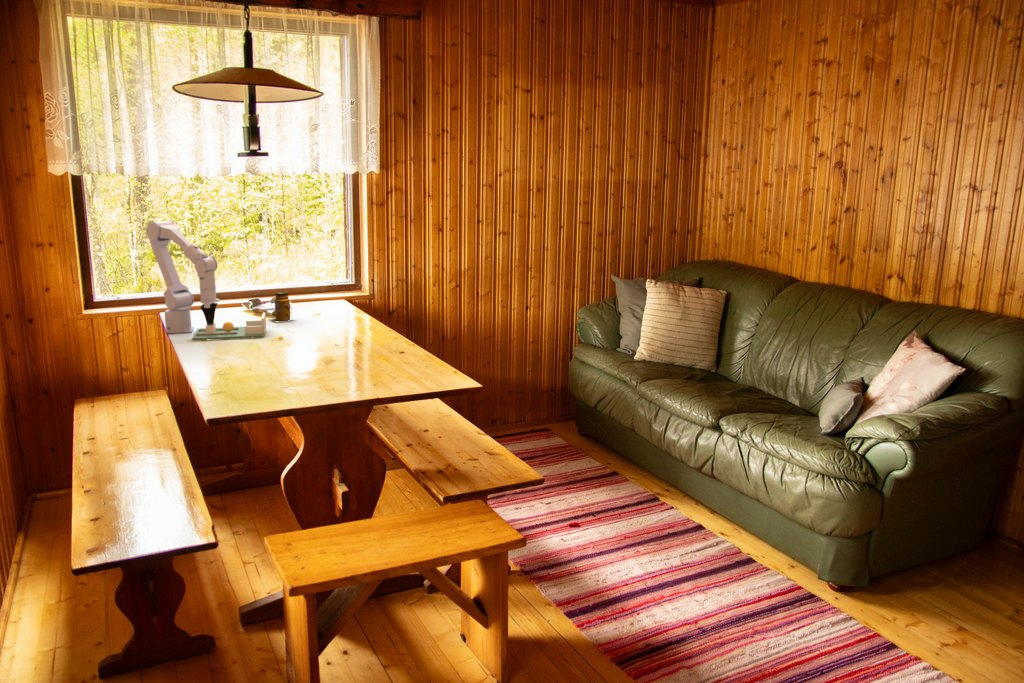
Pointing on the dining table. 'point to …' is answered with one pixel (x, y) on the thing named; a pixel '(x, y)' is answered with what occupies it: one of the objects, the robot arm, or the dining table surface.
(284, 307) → the condiment
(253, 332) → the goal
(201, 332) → the pitch
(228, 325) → the ball
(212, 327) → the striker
